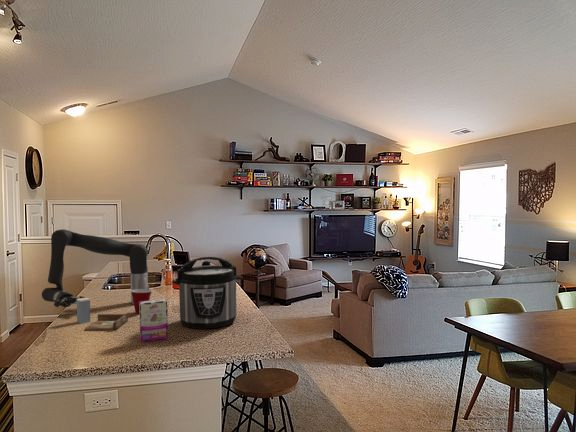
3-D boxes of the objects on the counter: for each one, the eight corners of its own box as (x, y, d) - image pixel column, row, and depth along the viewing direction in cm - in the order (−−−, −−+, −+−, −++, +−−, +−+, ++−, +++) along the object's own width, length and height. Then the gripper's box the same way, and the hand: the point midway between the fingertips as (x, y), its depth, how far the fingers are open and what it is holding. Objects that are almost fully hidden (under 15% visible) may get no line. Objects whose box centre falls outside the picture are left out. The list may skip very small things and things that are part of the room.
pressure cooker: (163, 328, 198) (163, 259, 197) (194, 313, 225) (194, 252, 224) (222, 334, 189) (222, 262, 188) (247, 317, 216) (247, 254, 215)
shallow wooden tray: (98, 321, 209) (98, 314, 209) (127, 321, 210) (127, 314, 209) (84, 330, 194) (84, 322, 194) (116, 330, 195) (115, 322, 194)
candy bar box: (166, 336, 187) (166, 298, 186) (168, 339, 182) (167, 300, 181) (139, 339, 182) (138, 300, 182) (140, 342, 178) (139, 303, 177)
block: (86, 319, 212) (86, 297, 212) (90, 321, 209) (90, 299, 208) (76, 321, 209) (76, 299, 208) (80, 323, 205) (80, 300, 205)
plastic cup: (157, 311, 229) (156, 288, 228) (142, 316, 219) (141, 292, 219) (141, 309, 233) (141, 287, 233) (126, 313, 224) (126, 290, 223)
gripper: (48, 293, 222) (59, 298, 211) (77, 289, 232) (89, 294, 221) (48, 308, 222) (60, 313, 211) (77, 303, 232) (89, 308, 221)
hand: (75, 303), depth 216 cm, fingers open, 8 cm apart
